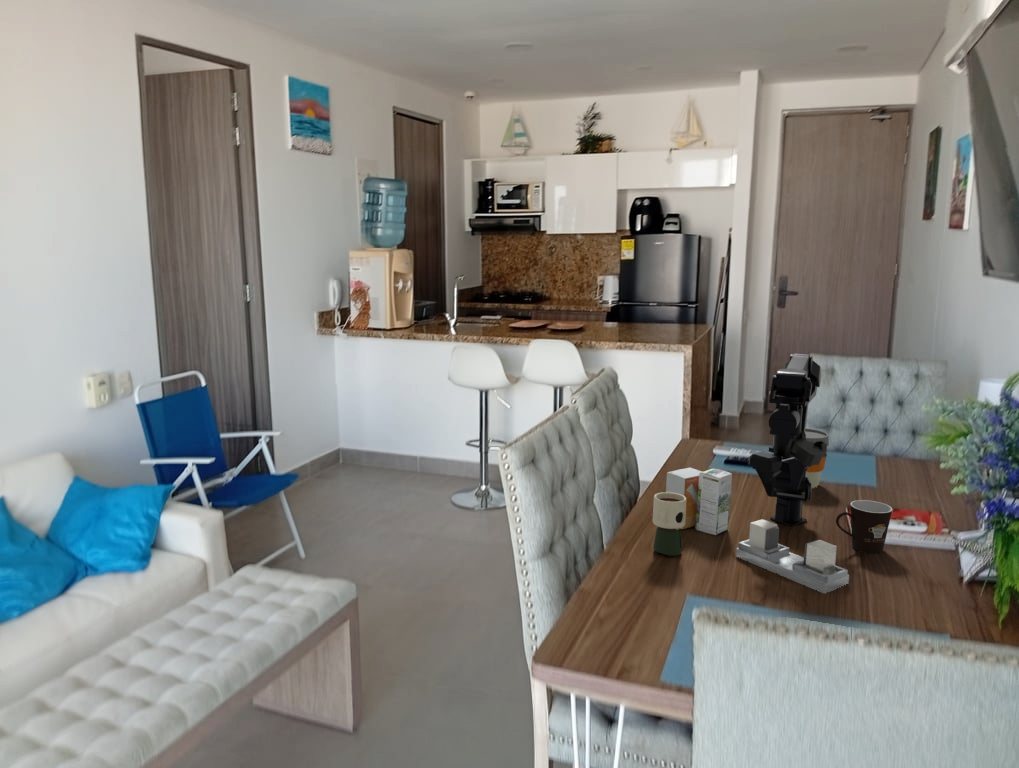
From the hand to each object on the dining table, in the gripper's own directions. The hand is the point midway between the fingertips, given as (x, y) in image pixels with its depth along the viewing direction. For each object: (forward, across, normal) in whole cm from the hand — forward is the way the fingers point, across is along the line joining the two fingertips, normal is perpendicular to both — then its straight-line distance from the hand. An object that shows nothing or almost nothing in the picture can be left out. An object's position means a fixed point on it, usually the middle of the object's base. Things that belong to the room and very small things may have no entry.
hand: (783, 492), depth 178 cm
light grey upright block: (+10, -11, -4) cm, 15 cm away
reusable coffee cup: (+12, +43, +25) cm, 51 cm away
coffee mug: (+12, +13, -12) cm, 21 cm away
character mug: (+12, -26, +10) cm, 30 cm away
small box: (+12, -9, +21) cm, 26 cm away
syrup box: (+12, -7, +14) cm, 20 cm away
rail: (+12, -11, -11) cm, 20 cm away
